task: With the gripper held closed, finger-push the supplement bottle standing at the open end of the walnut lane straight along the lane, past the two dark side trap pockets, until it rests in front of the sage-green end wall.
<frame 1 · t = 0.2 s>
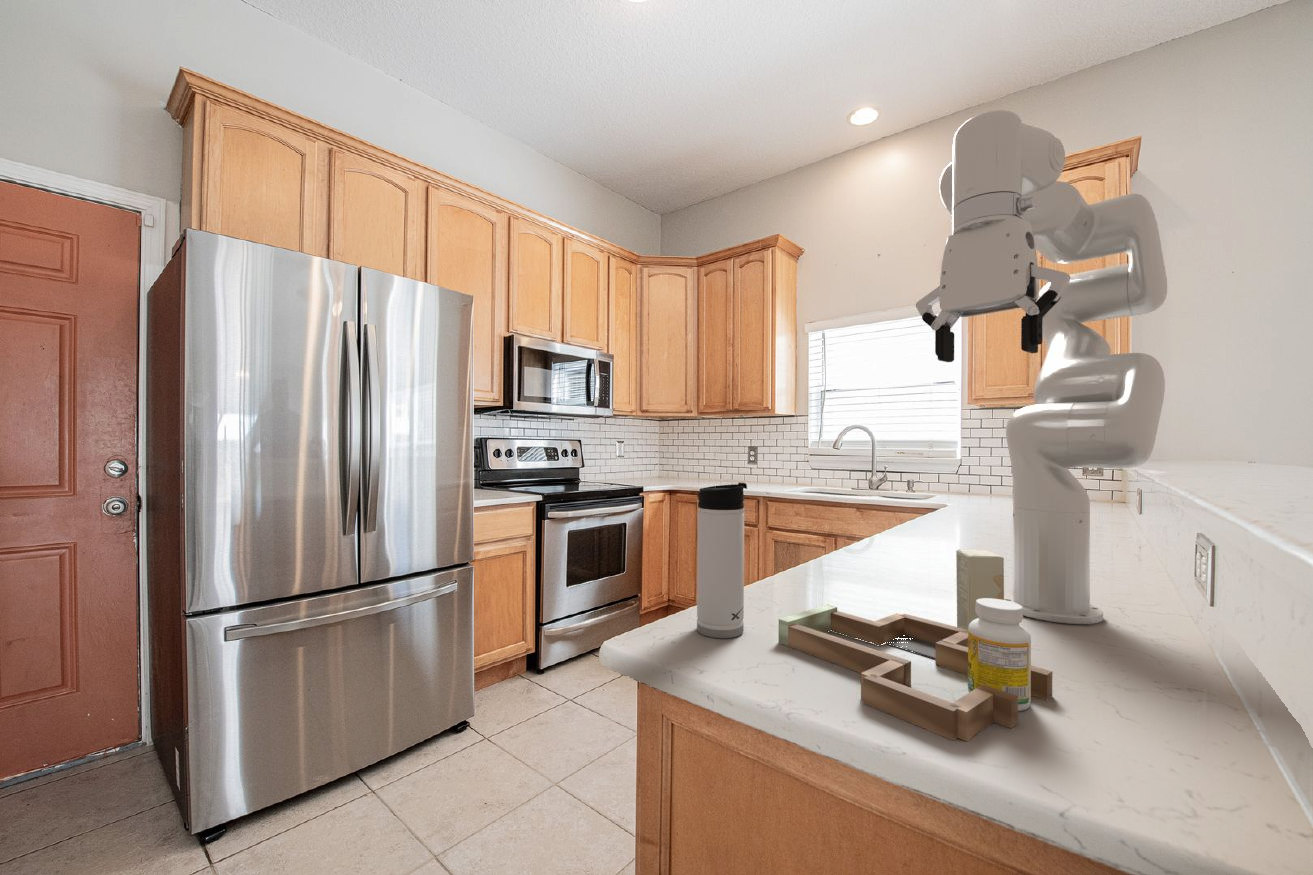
hand: (985, 356, 69), 36 cm above the worktop, tool pointing down, fingers open, 9 cm apart
travel mug: (721, 632, 75), on the worktop
supplement bottle: (998, 701, 55), on the worktop
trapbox: (910, 669, 62), on the worktop
box: (979, 637, 73), on the worktop
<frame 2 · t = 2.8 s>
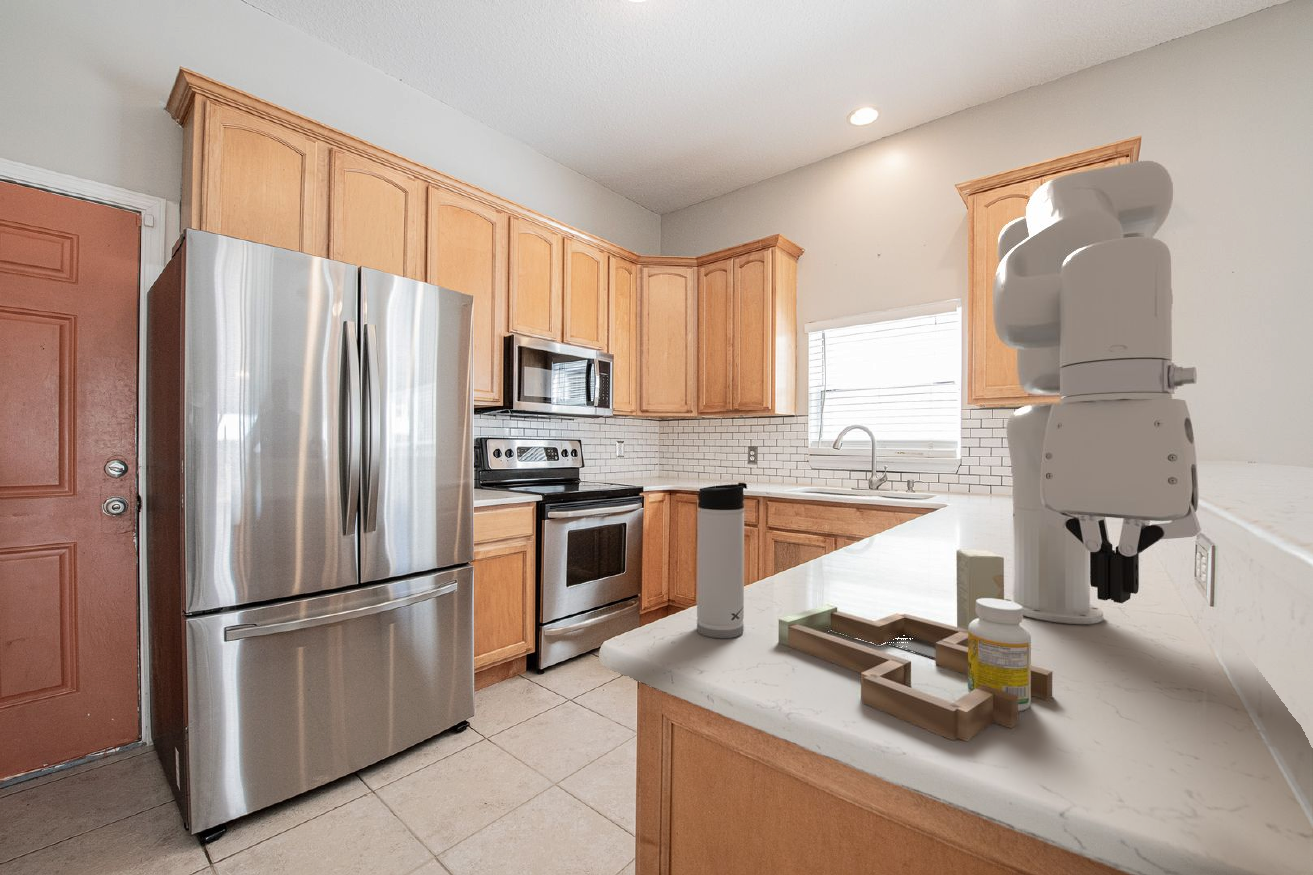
hand: (1114, 598, 48), 12 cm above the worktop, tool pointing down, fingers closed
nothing on the worktop moved.
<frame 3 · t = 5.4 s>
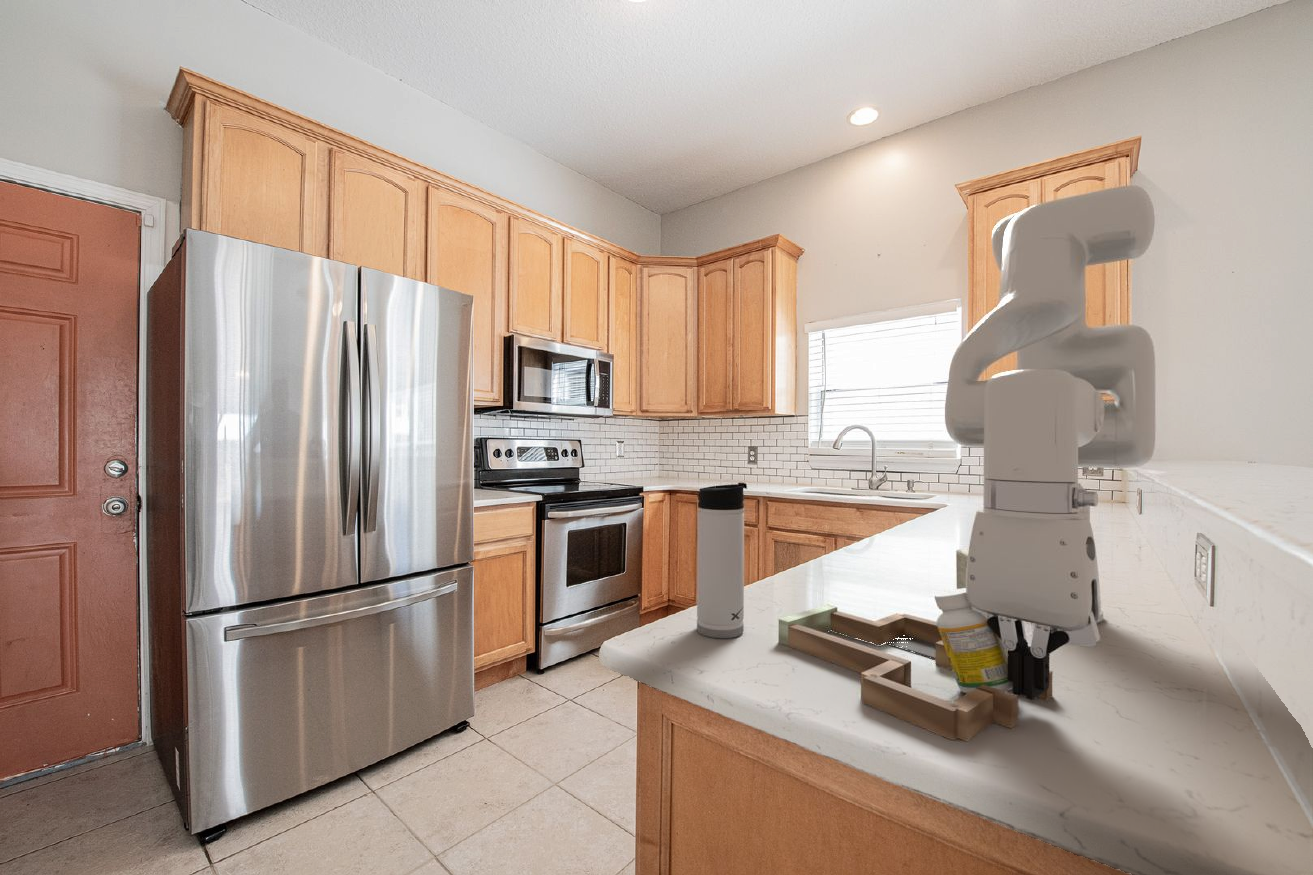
hand: (1028, 692, 53), 2 cm above the worktop, tool pointing down, fingers closed
supplement bottle: (989, 689, 56), point 1 cm above the worktop, touching gripper
everything else where it was.
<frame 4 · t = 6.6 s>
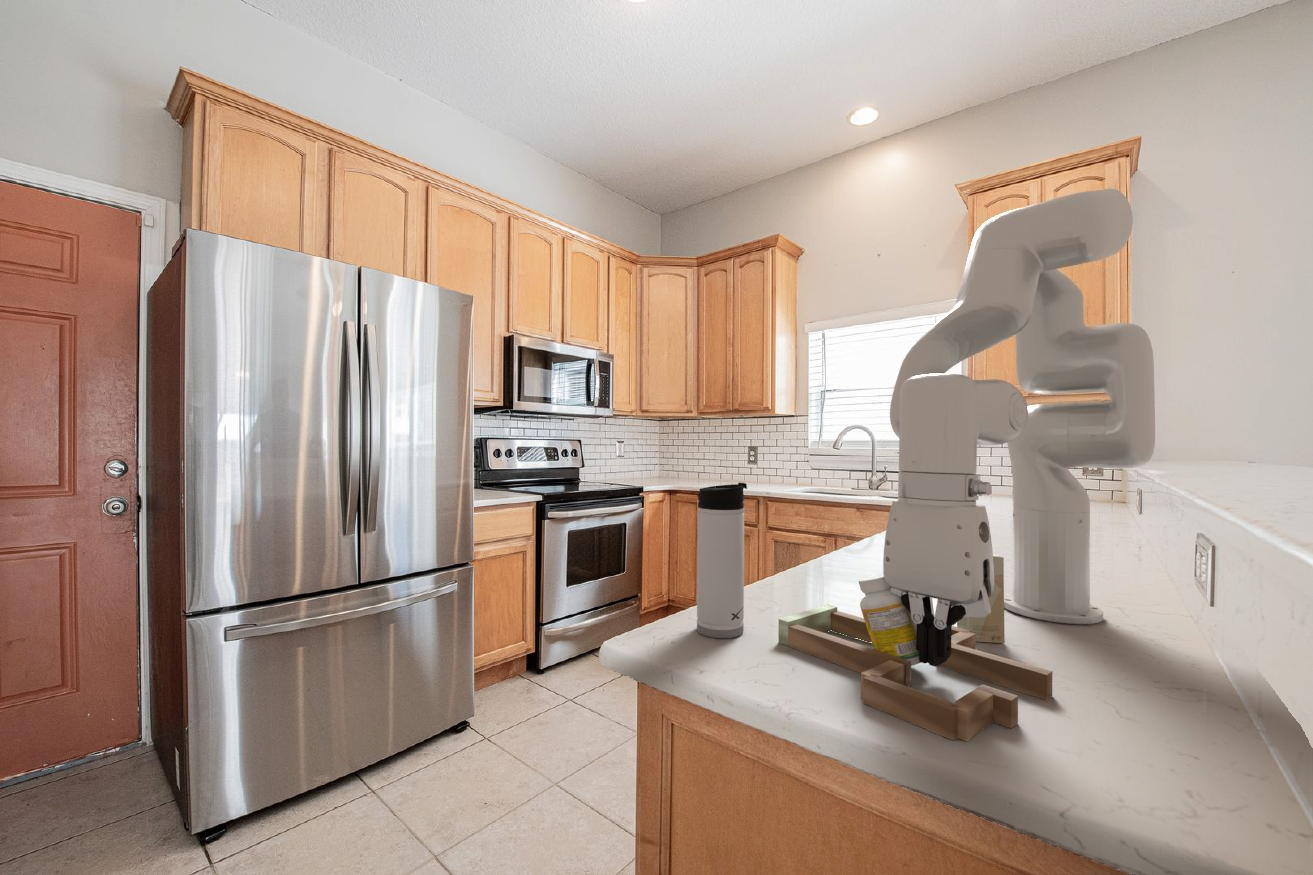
hand: (933, 661, 59), 2 cm above the worktop, tool pointing down, fingers closed
supplement bottle: (904, 663, 62), point 1 cm above the worktop, touching gripper
everything else where it was.
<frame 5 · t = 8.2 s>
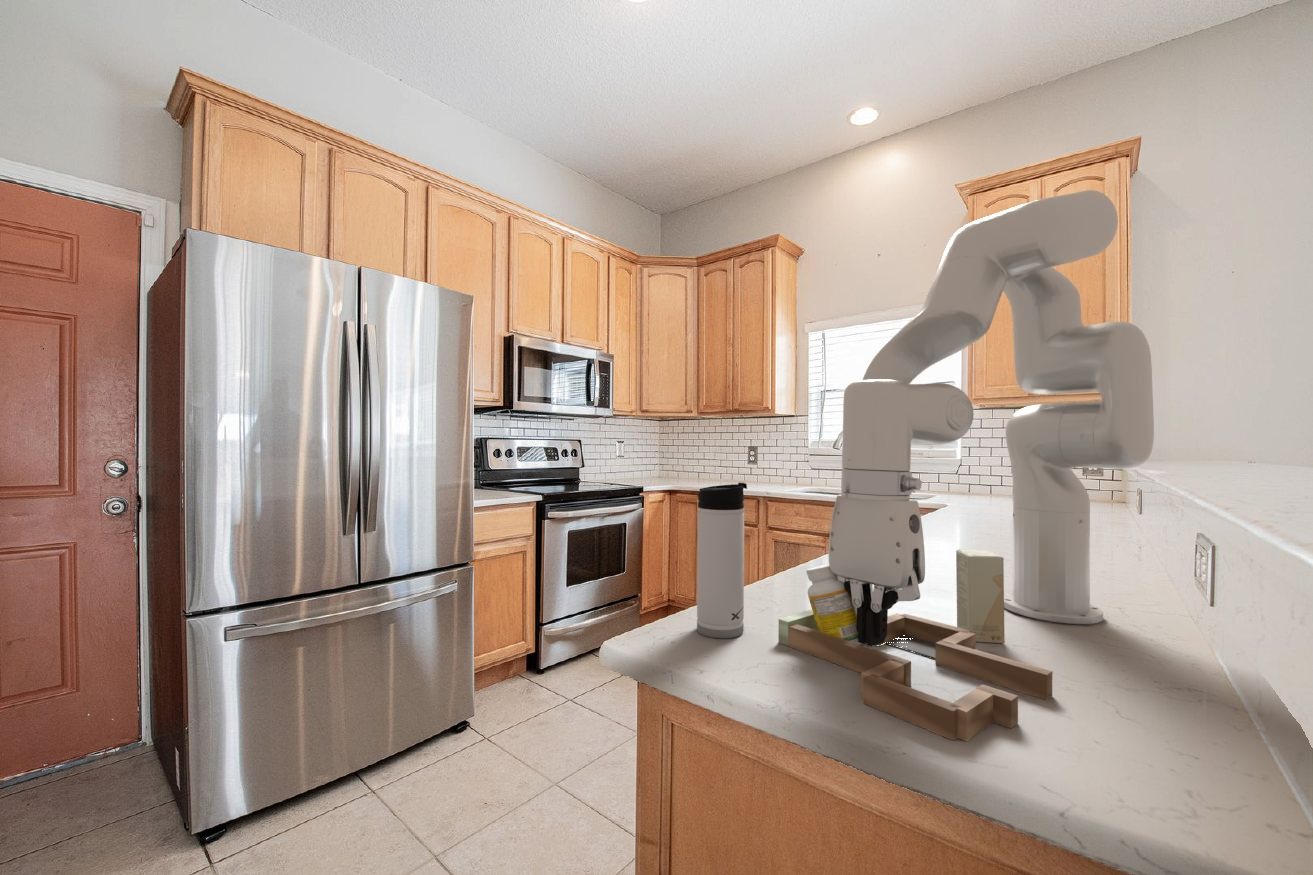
hand: (871, 641, 65), 2 cm above the worktop, tool pointing down, fingers closed
supplement bottle: (846, 646, 68), point 1 cm above the worktop, touching gripper
everything else where it was.
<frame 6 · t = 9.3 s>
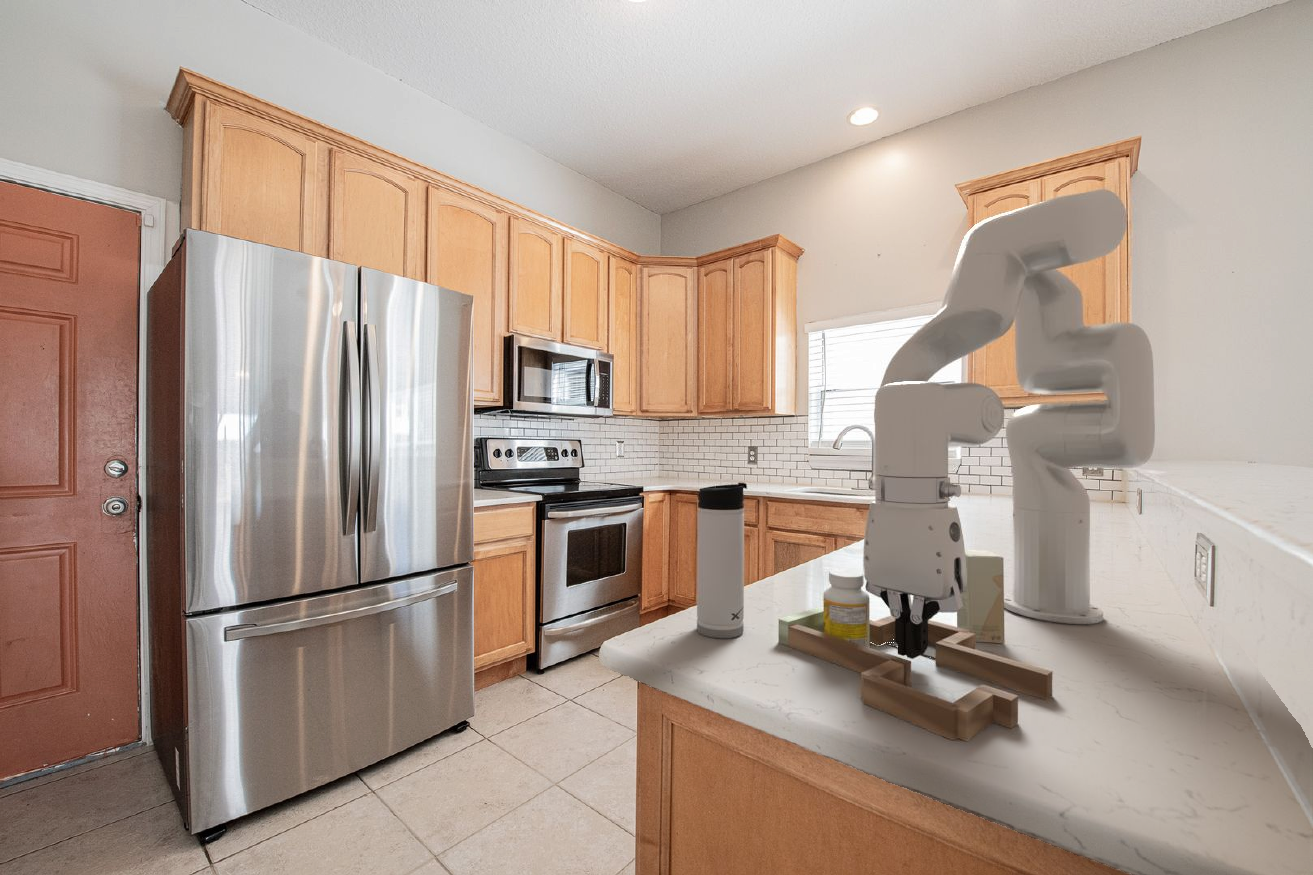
hand: (911, 653, 63), 2 cm above the worktop, tool pointing down, fingers closed
supplement bottle: (846, 652, 68), on the worktop
everything else where it was.
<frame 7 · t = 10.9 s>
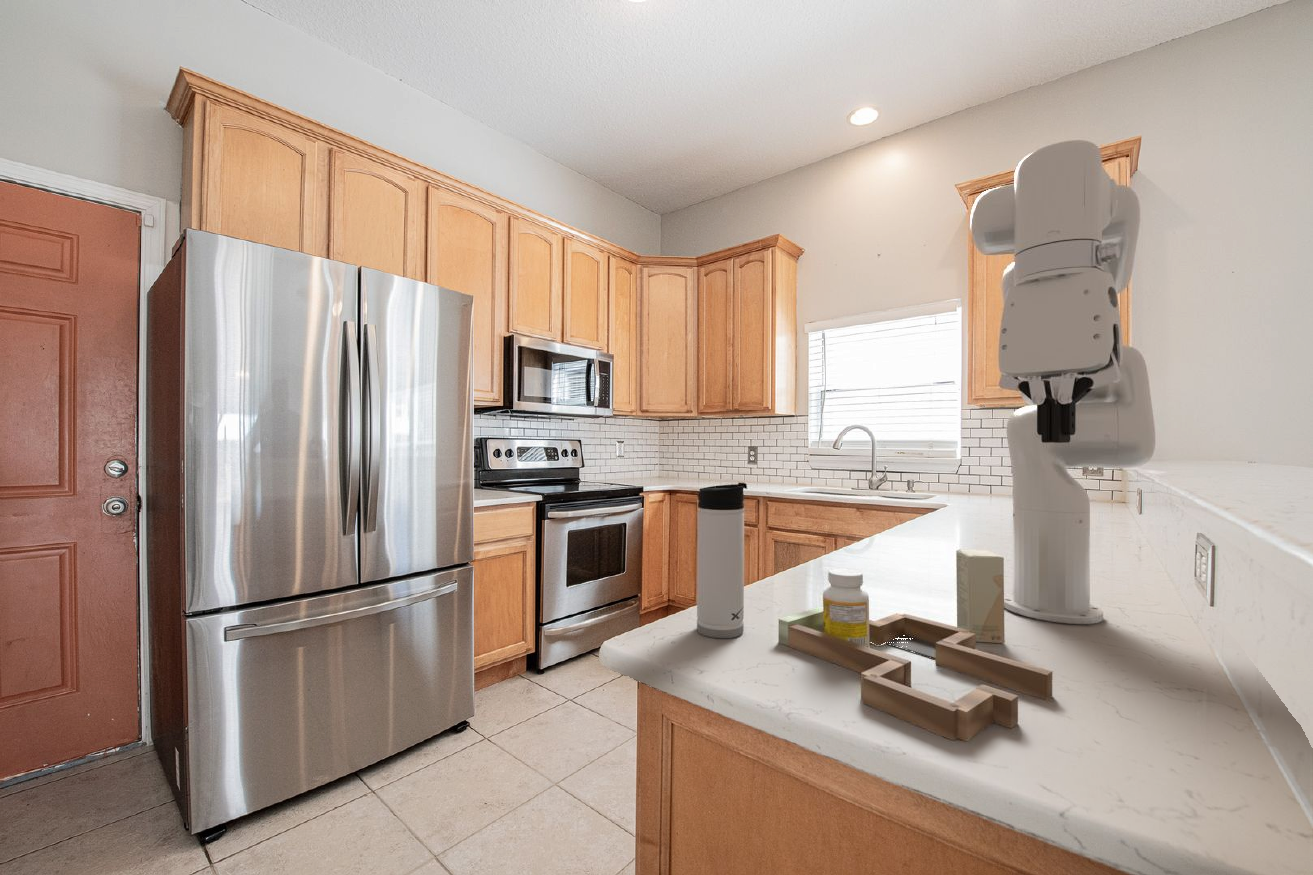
hand: (1055, 442, 59), 26 cm above the worktop, tool pointing down, fingers closed
nothing on the worktop moved.
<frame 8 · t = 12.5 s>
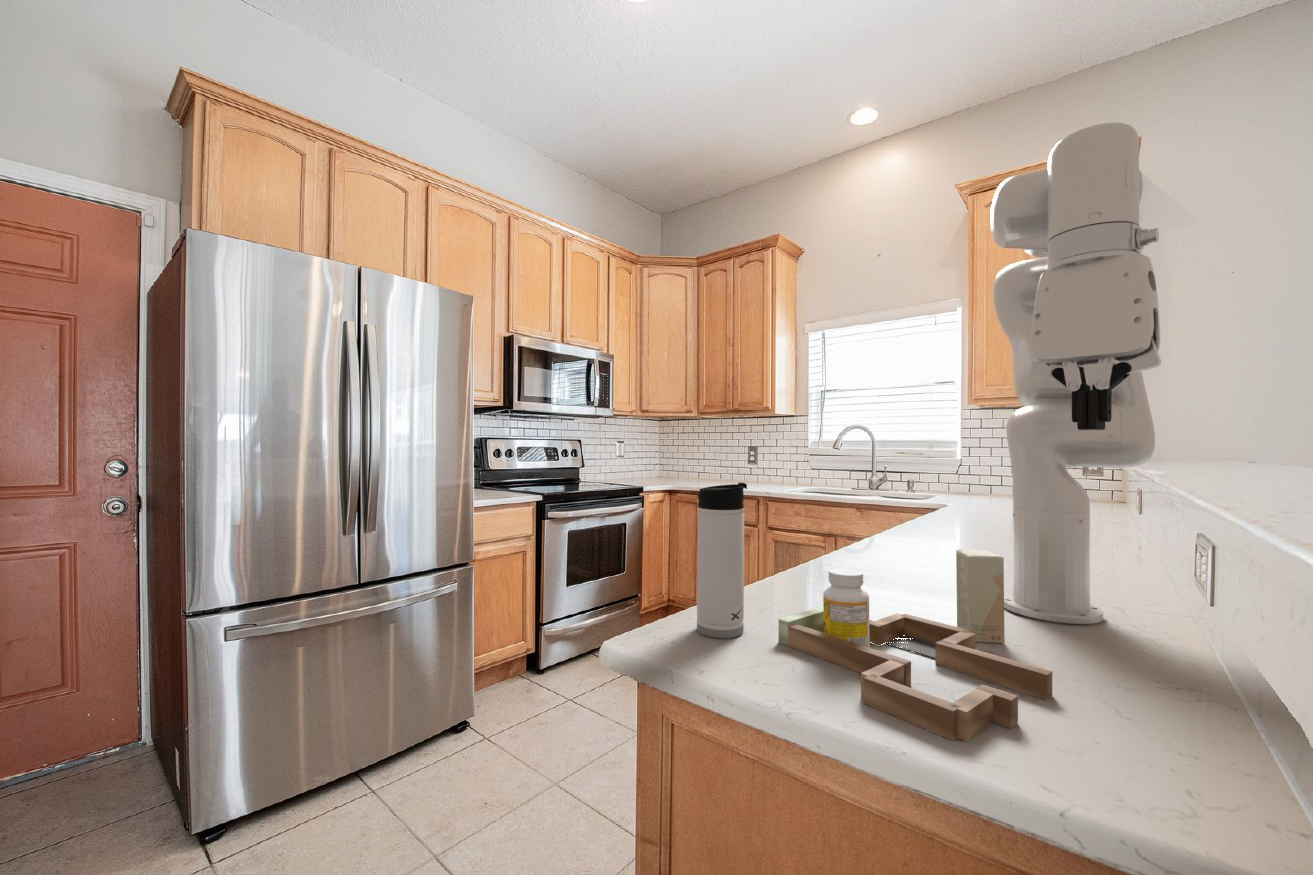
hand: (1091, 429, 58), 27 cm above the worktop, tool pointing down, fingers closed
nothing on the worktop moved.
at the end: supplement bottle inside the target area on the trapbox (1.5 cm from its centre), point 0.0 cm above the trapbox's base; supplement bottle tilted 1° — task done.
